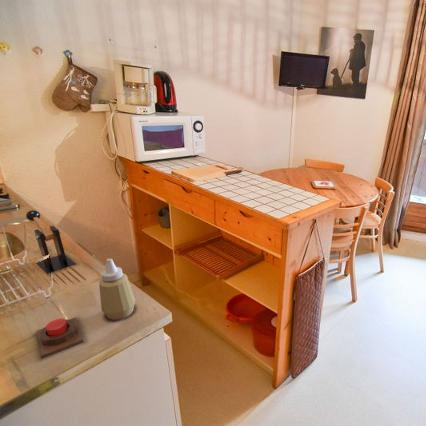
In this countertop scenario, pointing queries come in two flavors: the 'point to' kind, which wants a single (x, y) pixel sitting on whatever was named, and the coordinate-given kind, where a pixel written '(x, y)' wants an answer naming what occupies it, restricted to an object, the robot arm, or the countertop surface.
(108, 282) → the squeeze bottle
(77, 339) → the button box
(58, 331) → the button
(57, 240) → the bracket
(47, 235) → the lever
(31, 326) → the countertop surface
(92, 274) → the countertop surface
